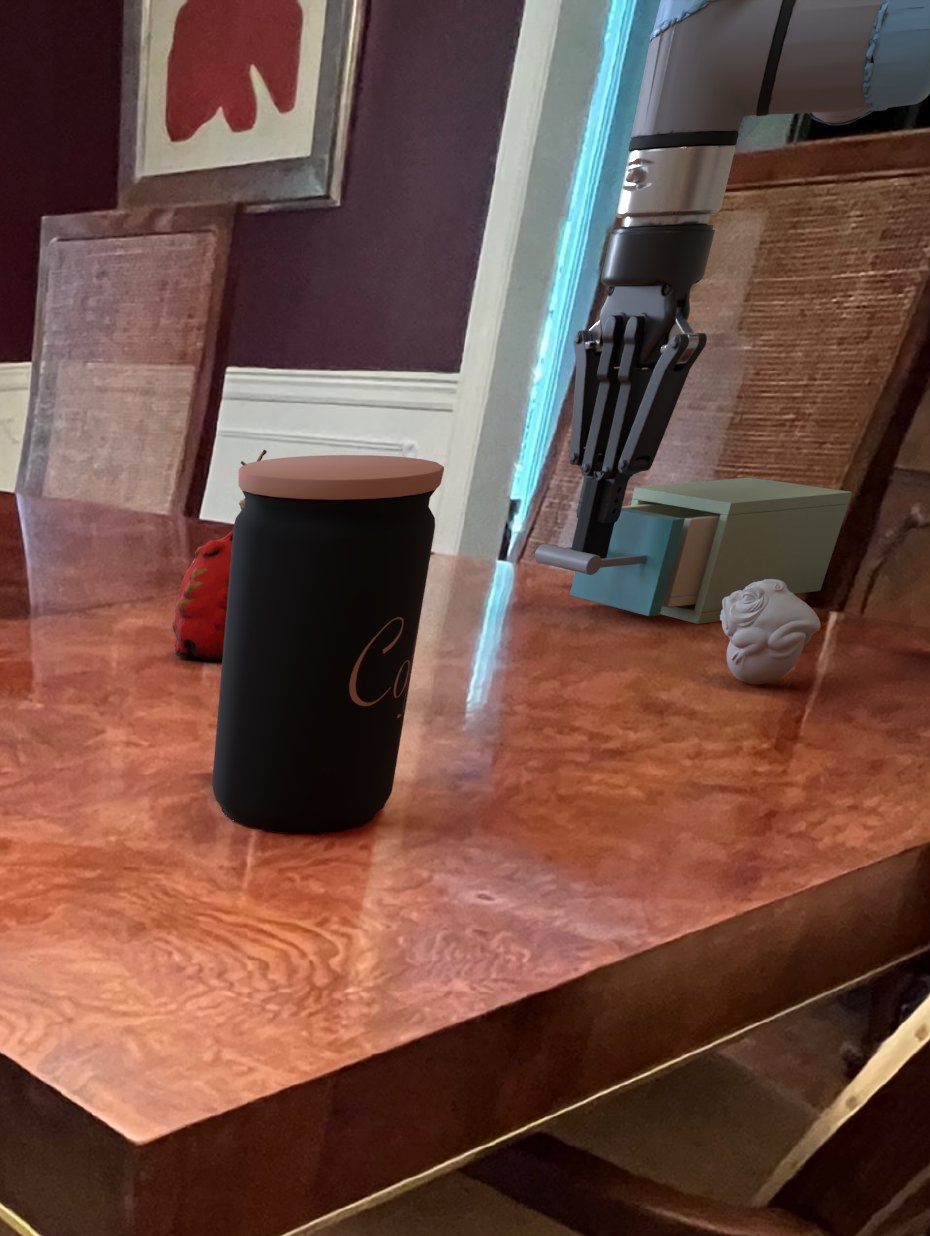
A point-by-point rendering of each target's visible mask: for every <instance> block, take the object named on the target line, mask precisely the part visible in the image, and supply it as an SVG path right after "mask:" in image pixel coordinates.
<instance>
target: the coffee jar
mask: <svg viewBox="0 0 930 1236" xmlns="http://www.w3.org/2000/svg"><path fill="white" fill-rule="evenodd" d="M256 461H257V460H256ZM256 461H252V462H248V463H246V465H244V466H243V465H242V466H240V467H239V469H238V482H237V483H238V487H239V489H240V490H241V492H242V494H243V496H244V498H245V507H244V508H243V509H242V510H241V509H240V511H239V513H238V514H237V516H236V517H235V520H234V523H233V527H232V528H233V529H232V531H233V540H232V552H231V563H230V575H229V587H228V599H227V611H226V623H225V635H224V647H223V659H222V660H221V673H220V684H219V685H220V686H219V694H218V695H219V697H218V708H217V718H216V719H217V720H216V732H215V741H214V743H215V745H214V754H213V755H214V756H213V767H212V778H211V779H212V780H211V786H212V792H213V795H214V798H215V801H216V803H217V804H218V805H219V806H220V809H221V813H222V812H223V813H224V814H223V813H222V814H223V815H224V816H226V815H227V816H226V817H227V818H228V817H229V818H228V819H230V820H231V821H232V820H234V821H233V822H235V823H237V822H238V823H237V824H240V825H242V824H243V825H242V826H244V827H247V826H248V828H251V827H252V829H256V830H260V829H261V830H260V831H266V832H269V833H279V834H289V835H323V834H333V833H342V832H346V831H350V830H354V829H358V828H361V827H363V826H366V825H367V824H369V823H371V822H372V821H374V819H375V818H376V816H377V815H378V813H379V812H380V811H381V810H383V808H384V807H385V805H386V803H388V800H389V798H390V797H391V794H392V792H393V788H394V783H395V782H394V781H395V776H396V769H397V763H398V758H399V751H400V743H401V739H402V733H403V727H404V720H405V713H406V707H407V701H408V695H409V689H410V683H411V677H412V671H413V666H414V665H413V664H414V658H415V654H416V646H417V642H418V641H417V640H418V636H419V635H418V633H419V628H420V621H421V616H422V609H423V605H424V604H423V603H424V598H425V591H426V585H427V579H428V572H429V567H430V561H431V555H432V548H433V543H434V536H435V532H436V531H435V530H436V518H435V516H434V513H433V512H432V510H431V508H430V501H431V500H430V499H431V497H432V495H433V494H434V493H435V491H436V490H437V489H438V488H439V487H440V486H441V484H442V479H443V476H444V472H445V466H443V464H440V463H439V462H437V461H433V460H429V459H423V458H417V457H416V458H415V457H407V456H406V457H405V456H394V455H393V456H392V455H374V454H372V455H371V454H326V455H303V456H289V457H278V458H268V459H261V461H257V462H256Z"/></svg>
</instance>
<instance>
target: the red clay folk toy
mask: <svg viewBox="0 0 930 1236" xmlns="http://www.w3.org/2000/svg"><path fill="white" fill-rule="evenodd" d="M267 453H268V451H267V450H266V449H263V450H262V452H261V453H260V454H259V456H258V457H257V459H256V461H255V462H257V461H262V460H263V457H264V456H265V455H266V454H267ZM240 464H241V465H242V466H244V465H246V464H247V463H246V462H245V461H243V460H241V461H240ZM238 505H239V507H240V511H241V510H242V509H243V508H244V507H245V497H244V498H243V499H240V500H239V501H238ZM232 540H233V530H230V532H228V534H227V535H225V536H224V537H221V538H219V539H210V540H208V541H207V542H206V543H205V544H204V545H201V546H199V547H197V549H196V550H195V552H194V560H193V561H192V562H191V563H190V566H189V567H188V569H187V570H186V572H185V573H184V576H183V579H182V581H181V582H182V583H181V585H180V589H179V594H178V600H177V602H176V603H175V605H174V606H175V608H174V618H173V620H172V630H173V633H174V634H175V642H174V654H175V656H177V657H179V658H185V659H186V658H188V659H191V658H193V657H194V658H197V659H202V660H204V661H214V662H217V661H222V659H223V647H224V635H225V623H226V611H227V599H228V587H229V575H230V563H231V552H232Z"/></svg>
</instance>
